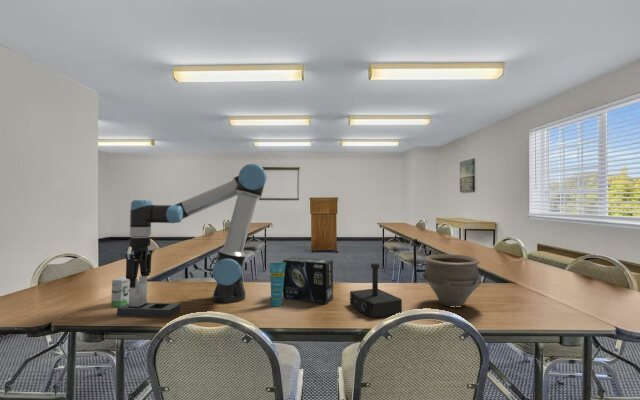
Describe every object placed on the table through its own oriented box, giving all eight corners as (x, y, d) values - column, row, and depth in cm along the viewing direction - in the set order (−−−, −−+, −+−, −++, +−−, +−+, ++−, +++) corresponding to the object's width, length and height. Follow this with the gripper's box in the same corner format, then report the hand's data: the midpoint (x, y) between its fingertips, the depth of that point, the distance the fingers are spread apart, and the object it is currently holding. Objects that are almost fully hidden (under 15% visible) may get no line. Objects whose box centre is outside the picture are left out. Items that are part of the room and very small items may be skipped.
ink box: (120, 307, 128) (121, 280, 128) (110, 307, 129) (111, 279, 129) (135, 301, 136) (136, 276, 137) (126, 301, 137) (127, 275, 137)
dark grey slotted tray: (180, 310, 124) (180, 303, 125) (169, 317, 116) (169, 309, 117) (130, 309, 126) (131, 302, 126) (116, 315, 118) (117, 308, 118)
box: (282, 298, 143) (282, 259, 143) (291, 293, 152) (292, 256, 153) (326, 305, 134) (326, 263, 134) (333, 299, 143) (334, 259, 144)
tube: (268, 307, 130) (269, 263, 130) (268, 303, 135) (268, 261, 135) (285, 306, 131) (286, 263, 132) (284, 302, 136) (285, 261, 137)
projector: (345, 305, 134) (346, 261, 134) (376, 301, 140) (376, 259, 141) (368, 320, 116) (369, 269, 117) (403, 314, 123) (402, 266, 123)
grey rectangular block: (146, 303, 124) (147, 281, 124) (139, 306, 119) (139, 284, 120) (136, 302, 124) (137, 281, 124) (128, 306, 119) (129, 284, 120)
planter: (494, 309, 130) (494, 259, 131) (461, 318, 118) (461, 263, 119) (444, 294, 151) (444, 251, 152) (412, 301, 139) (412, 254, 140)
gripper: (145, 235, 132) (143, 287, 131) (115, 238, 114) (113, 299, 113) (161, 235, 131) (159, 288, 130) (134, 239, 114) (131, 300, 113)
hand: (138, 293), depth 122 cm, fingers closed on grey rectangular block, 4 cm apart
